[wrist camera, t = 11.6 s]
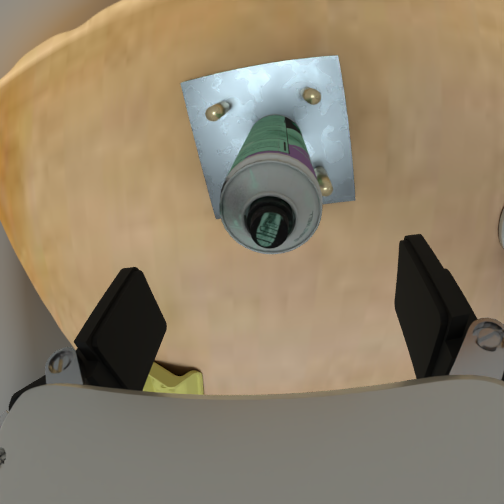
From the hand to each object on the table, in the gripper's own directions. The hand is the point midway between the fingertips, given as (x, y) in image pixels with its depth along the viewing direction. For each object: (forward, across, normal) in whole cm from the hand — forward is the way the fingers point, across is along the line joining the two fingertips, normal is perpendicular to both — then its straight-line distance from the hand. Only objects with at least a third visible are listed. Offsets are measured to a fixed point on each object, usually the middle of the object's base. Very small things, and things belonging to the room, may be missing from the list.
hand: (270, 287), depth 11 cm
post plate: (+25, +1, 0) cm, 25 cm away
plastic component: (+25, +29, +44) cm, 58 cm away
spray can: (+24, 0, 0) cm, 24 cm away
